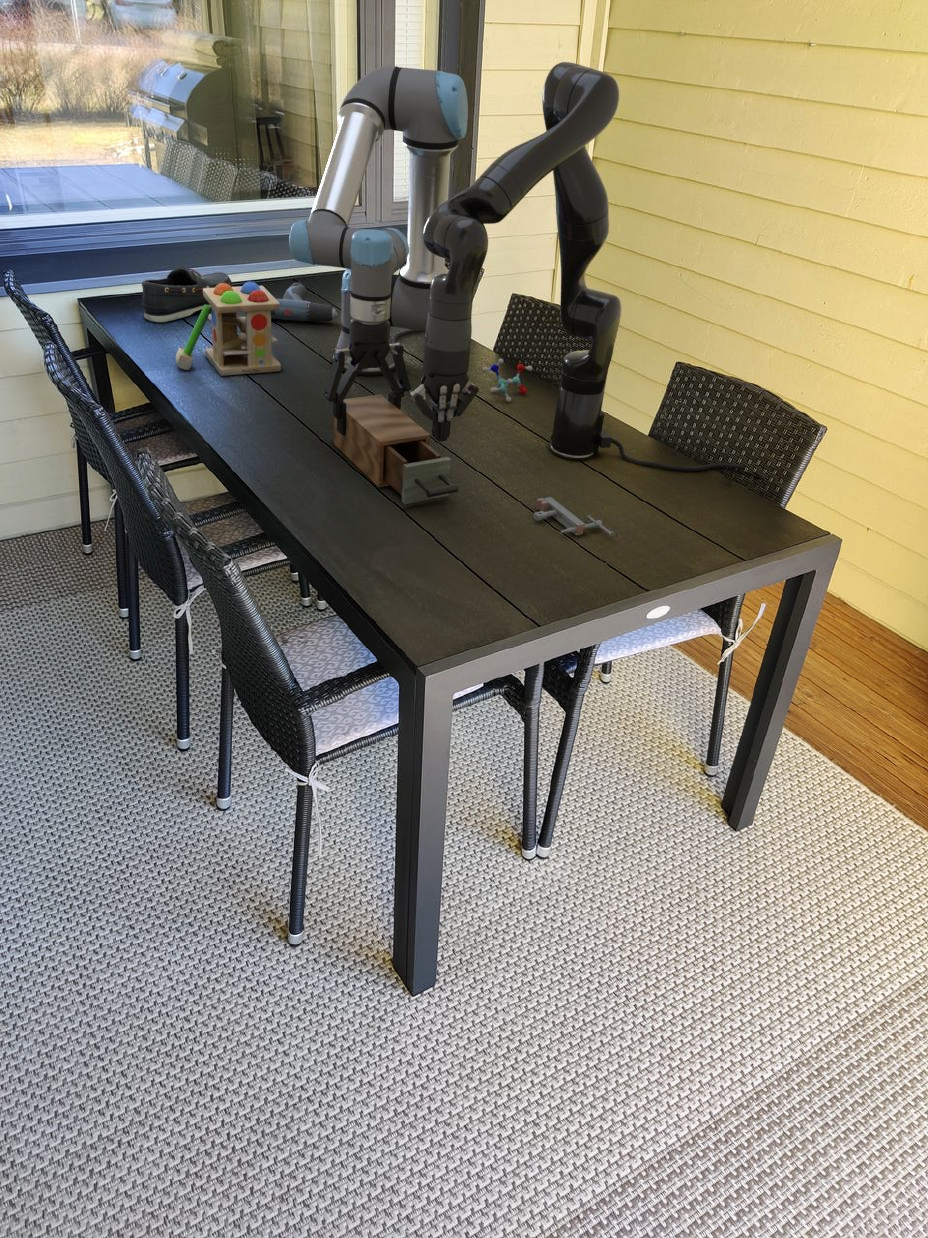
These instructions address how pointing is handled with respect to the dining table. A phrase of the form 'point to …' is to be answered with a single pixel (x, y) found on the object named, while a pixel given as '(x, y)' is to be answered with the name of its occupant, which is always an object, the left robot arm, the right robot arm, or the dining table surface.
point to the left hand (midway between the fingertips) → (366, 428)
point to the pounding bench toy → (229, 347)
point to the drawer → (417, 471)
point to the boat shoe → (178, 294)
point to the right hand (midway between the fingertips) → (440, 439)
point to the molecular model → (503, 383)
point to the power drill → (301, 307)
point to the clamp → (565, 517)
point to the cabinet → (374, 433)
